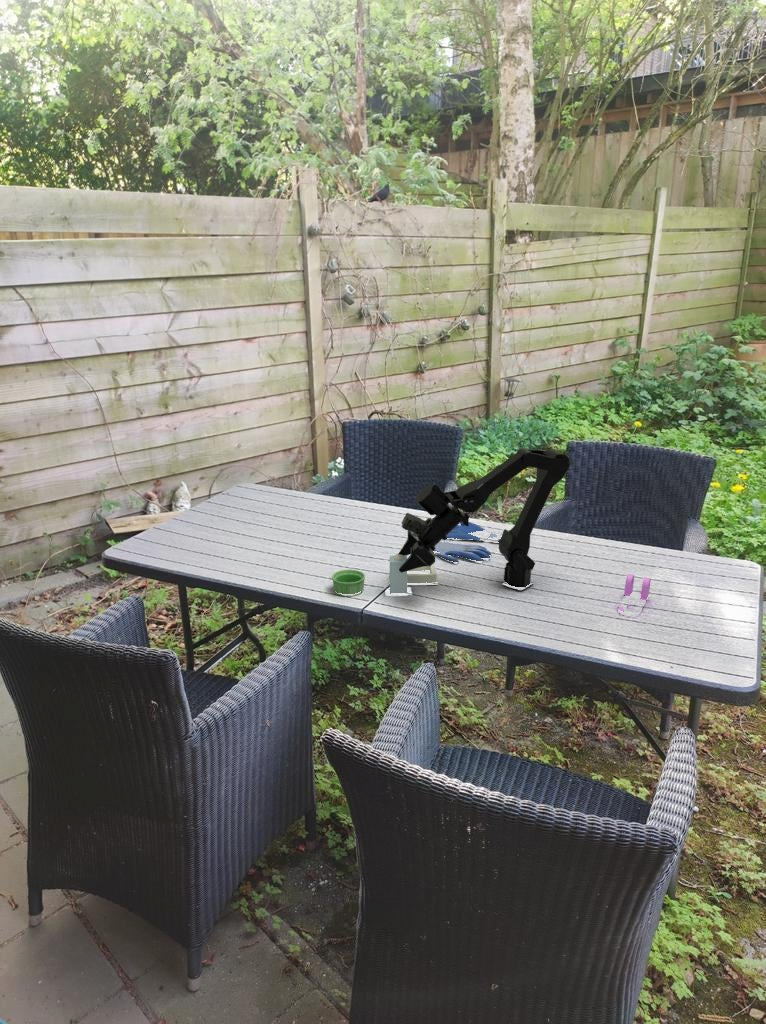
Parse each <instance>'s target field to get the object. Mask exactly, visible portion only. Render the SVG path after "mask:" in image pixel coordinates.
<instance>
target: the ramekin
mask: <svg viewBox="0 0 766 1024" xmlns="http://www.w3.org/2000/svg"><path fill="white" fill-rule="evenodd" d="M331 580H332V584H333V591H334V590H335V591H336V592H337V593H342V594H355V593H358V592H360V591H362V590H363V591H364V589H363V588H364V585H365V580H366V575H365V573H364V572H363V571H360V570H357V569H342V570H338V571H336V572H334V573H333V574H331ZM335 591H334V592H335ZM337 593H336V594H337Z"/></svg>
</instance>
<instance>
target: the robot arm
mask: <svg viewBox="0 0 766 1024" xmlns="http://www.w3.org/2000/svg"><path fill="white" fill-rule="evenodd" d="M528 467H531V468H535V469H536V478H535V482H534V483H533V485H532V488H531V489H530V492H529V494H528V496H527V498H526V501H525V503H524V505H523V507H522V509H521V511H520V513H519V515H518V518H517V520H516V522H515V525H514V526H512V528H511V529H509V530H507V529H506V528H505V529H504V530H503V532H502V533H501V534H502V537H501V539H500V540H499V541H498V542H499V543H500V544H499V543H498V550H499V553H500V554H501V555H502V556H503V557H504V559H505V560H506V561H507V562H506V563H505V567H504V569H503V570H504V571H503V572H504V573H503V582H507V583H508V584H509V585H511V586H515V587H526V586H527V585H529V584H530V582H532V581H531V579H532V577H531V576H532V571H533V570H534V567H535V566H536V562H535V561H534V560H533V559H532V558H531V557H530V556H529V555H528V554H529V551H530V546H531V536H532V532H533V530H534V528H535V525H536V523H537V521H538V520H539V518H540V515H541V514H542V511H543V509H544V506H545V505H546V503H547V500H548V498H549V496H550V493H551V492H552V490H553V488H554V487H555V486H556V485H557V484H558V483H559V482H560V481H561V480H563V478H564V477H565V476H566V474H567V473H568V471H569V469H570V467H571V461H570V458H569V457H568V456H567V455H566V454H564V453H562V452H561V451H558V450H557V449H555V448H547V449H545V450H541V449H527V448H520V449H518V450H517V451H516V452H515V453H514V454H513V455H512V456H510V457H509V458H507V459H506V460H505V461H503V462H501V464H499V465H498V466H497V467H495V468H494V469H492V470H491V471H490V472H488V473H487V474H485V475H484V476H483V477H481V478H479V479H476V480H473V481H469V482H467V483H465V484H463V485H461V486H459V487H458V488H456V489H455V490H450V491H445V492H443V491H442V489H441V488H440V487H439V486H438V485H437V484H436V483H435V482H432V483H431V484H430V485H426V486H425V487H423V488H422V489H420V490H419V492H418V493H417V494H416V495H415V498H414V500H415V502H416V503H417V504H418V505H419V506H420V508H422V510H424V511H425V512H426V513H427V514H428V515H430V516H434V517H428V518H426V520H424V519H422V518H420V517H419V516H417V515H414V514H412V513H409V512H406V513H405V515H404V517H403V519H402V521H401V528H402V529H403V530H405V531H407V539H406V541H405V542H404V543H403V546H402V547H401V548H400V550H399V552H398V553H397V554H400V555H403V556H407V560H406V561H405V562H404V563H403V564H402V566H401V567H400V568H399V571H400V572H401V573H402V572H405V571H409V570H412V569H415V568H419V567H423V566H426V567H427V566H429V567H430V566H431V565H432V564H434V565H435V563H436V555H435V554H434V552H433V551H434V550H435V549H436V548H435V545H437V544H438V543H439V542H442V540H443V542H446V541H447V540H446V539H447V536H446V535H447V534H449V533H450V532H451V531H452V530H453V529H454V528H455V527H456V526H457V525H459V524H460V523H461V522H462V523H464V524H465V525H466V526H469V522H470V521H469V520H470V515H469V514H473V513H475V512H477V511H478V510H480V509H481V507H483V505H484V504H486V502H487V501H488V500H489V498H490V496H491V495H492V494H493V493H494V492H495V491H497V490H498V489H499V488H501V487H502V486H504V485H505V484H506V483H507V482H509V481H510V480H511V479H513V478H514V477H516V476H517V475H519V474H520V473H522V472H523V471H524V470H526V469H527V468H528ZM462 511H463V512H462ZM468 513H469V514H468Z"/></svg>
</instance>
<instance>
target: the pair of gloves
mask: <svg viewBox="0 0 766 1024" xmlns="http://www.w3.org/2000/svg"><path fill="white" fill-rule="evenodd" d="M459 524H460V525H459ZM459 524H458V525H457V526H456V527H455V528H454V529H453V530H452V531H451V532H450V533H449V534H447V535H446V536H447V538H454V539H456V538H457V539H473V540H480V538H478V537H476V536H473V535H471V534H468V533H471V532H472V533H473V532H476V531H483V530H486V529H485V528H484V527H482V526H480V525H479V524H476V523H473V522H471V521H469V526H466V525H465V524H464V523H462V522H461V523H459ZM493 533H494V532H491V534H490V536H489V537H488V538H490V537H491V538H493V537H497V535H496V534H497V533H494V534H493ZM500 534H501V535H502V534H503V533H500ZM488 538H487V539H488ZM499 540H500V539H498V540H495V541H499ZM435 548H436V549H435V550H434V551H437V552H440V553H435V554H437V555H438V556H440V557H442V558H444V559H446V560H449V561H453V562H458V563H459V559H458V558H460V557H463V558H462V559H464V558H467V559H471V560H476V561H482V560H483V559H481V558H490V556H489V555H491V554H492V553H491V551H490V550H488V549H487V548H486V547H485V546H481V545H479V544H462V543H461V544H460V543H459V544H458V543H452V542H449V541H440V542H439V543H438V544H437V545H435ZM435 554H434V555H435ZM448 555H451V556H448ZM453 555H454V556H453ZM438 556H437V557H438ZM456 556H459V557H458V558H456ZM491 556H492V555H491ZM440 557H439V558H440ZM467 559H466V560H467Z"/></svg>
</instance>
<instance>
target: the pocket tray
mask: <svg viewBox="0 0 766 1024" xmlns="http://www.w3.org/2000/svg"><path fill="white" fill-rule="evenodd" d="M422 570H424V571H425V570H430V574H407V583H426V582H427V583H432V582H437V578H438V576H437V575H438V573H437V570H436V567H435V563H434V564H432V565H431V566H430V567H429V566H427V567H426V566H423V567H419V568H415V569H412V570H409V571H422Z"/></svg>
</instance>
